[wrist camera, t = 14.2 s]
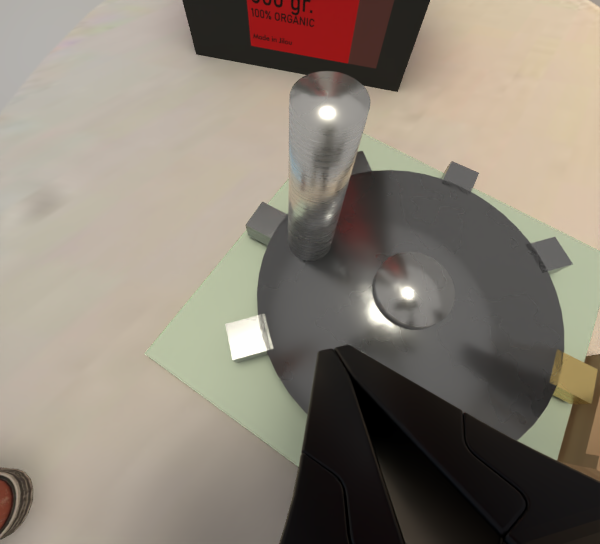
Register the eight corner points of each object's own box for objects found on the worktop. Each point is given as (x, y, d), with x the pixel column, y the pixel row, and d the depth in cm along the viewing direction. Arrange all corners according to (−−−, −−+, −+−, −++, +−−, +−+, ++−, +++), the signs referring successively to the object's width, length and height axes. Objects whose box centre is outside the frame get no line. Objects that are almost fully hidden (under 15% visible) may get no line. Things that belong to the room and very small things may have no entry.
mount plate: (608, 259, 20) (613, 257, 20) (507, 619, 14) (511, 624, 13) (336, 123, 24) (336, 119, 24) (146, 354, 17) (144, 353, 17)
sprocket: (654, 429, 16) (1183, 463, 7) (279, 573, 13) (263, 982, 4) (473, 140, 23) (605, -47, 13) (201, 196, 20) (127, 12, 11)
